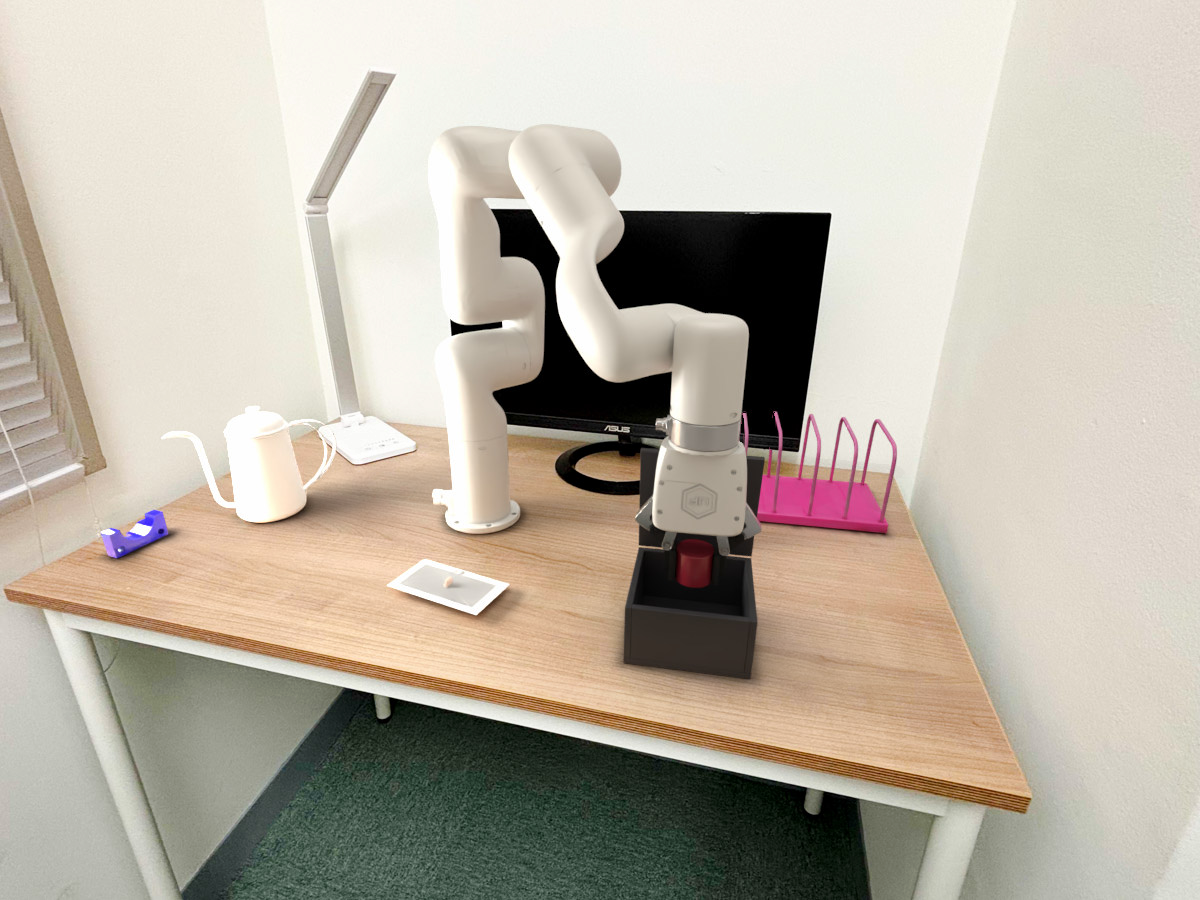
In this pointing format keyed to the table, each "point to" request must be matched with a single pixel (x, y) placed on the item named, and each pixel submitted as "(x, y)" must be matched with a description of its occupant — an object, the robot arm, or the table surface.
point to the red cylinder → (694, 563)
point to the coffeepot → (262, 466)
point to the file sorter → (823, 490)
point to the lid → (744, 549)
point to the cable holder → (135, 535)
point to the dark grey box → (691, 619)
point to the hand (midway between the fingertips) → (693, 575)
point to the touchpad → (449, 586)
